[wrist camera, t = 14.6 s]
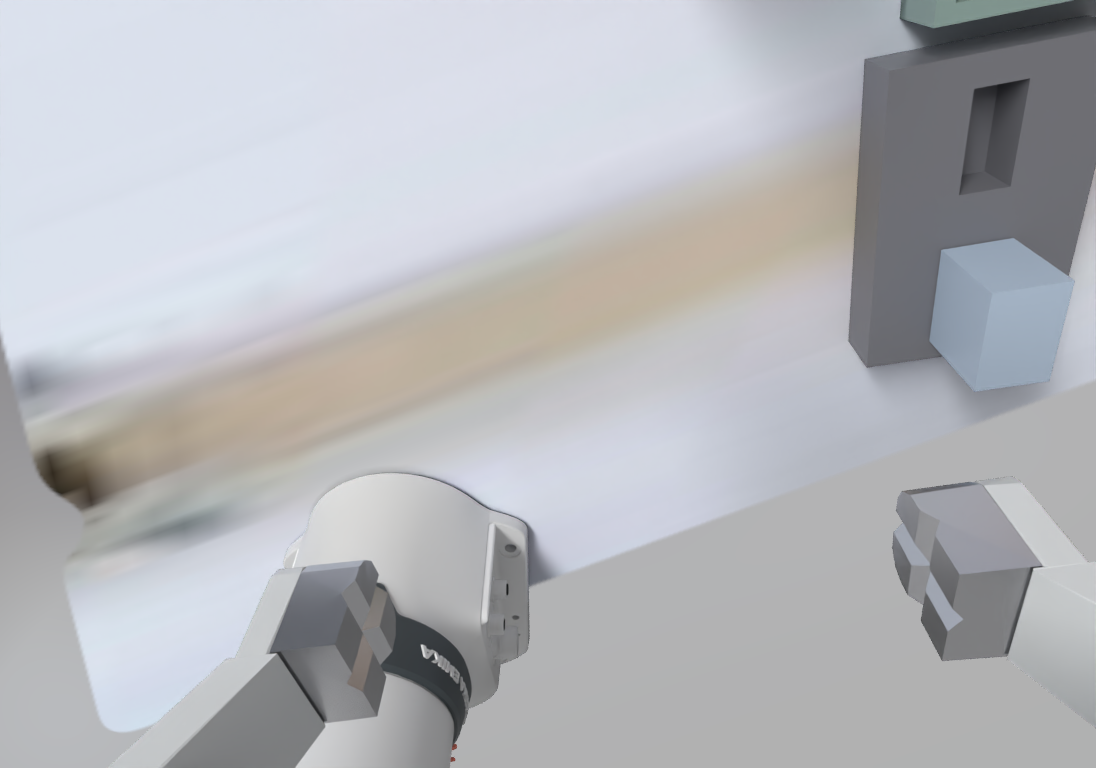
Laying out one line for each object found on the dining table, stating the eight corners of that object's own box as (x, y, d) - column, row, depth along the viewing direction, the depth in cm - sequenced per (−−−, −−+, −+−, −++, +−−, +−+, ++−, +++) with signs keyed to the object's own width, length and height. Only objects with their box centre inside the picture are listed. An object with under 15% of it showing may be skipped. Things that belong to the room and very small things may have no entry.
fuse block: (1022, 314, 41) (1052, 340, 38) (848, 341, 42) (866, 367, 40) (1086, 15, 32) (1130, 23, 30) (864, 59, 33) (889, 70, 31)
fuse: (972, 308, 40) (1049, 381, 34) (909, 318, 41) (974, 391, 34) (987, 219, 37) (1074, 280, 31) (919, 230, 38) (992, 293, 31)
